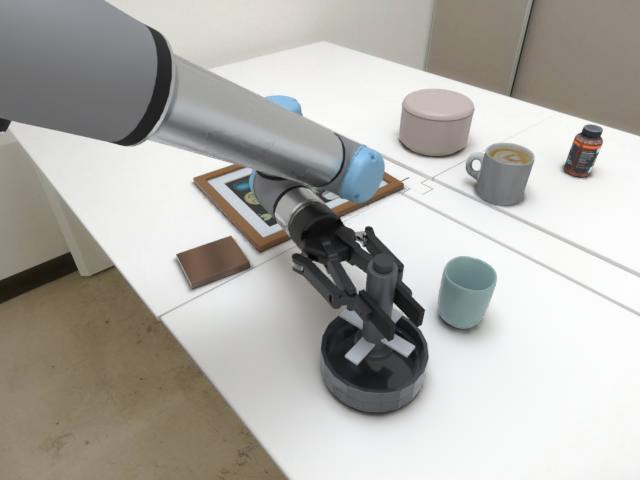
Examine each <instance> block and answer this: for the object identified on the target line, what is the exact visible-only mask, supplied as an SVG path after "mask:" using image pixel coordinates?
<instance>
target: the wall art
mask: <svg viewBox="0 0 640 480" xmlns="http://www.w3.org/2000/svg"><path fill="white" fill-rule="evenodd" d="M252 170H253V169H250V168H246V167H243V166H239V165H236V164H230V165H227V166H224V167H221V168H218V169H214V170H212V171H209V172H206V173H203V174H200V175H198V176H195V177H193V178H192V181H193V184H194V185H195V186H196V187H197V188H198V189H199V190H200V191H201V192H202V193H203V194H204V195H205V196H206V197H207V198H208V199H209V200H210V201H211V202H212V204H214V205H215V207H216V208H218V210H219V211H220V212H221V213H222V214H223V215H224V216H225V217H226V218H227V219H228V220H229V221H230V222H231V223H232V224H233V226H234V227H236V229H237V230H238V231H239V232H240V233H241V234H242V235H243V237H245V238H246V239H247V240H248V242H250V243H251V244H252V246H254V247H255V249H256V250H257V251H258V252H259V253H261V252H263V251H265V250H269V249H270V248H272V247H275V246H277V245H279V244H281V243H284V242H286V241H289V240H291V238H290V237H289V236H288V235H287V233H286V232H285V231H284V230H283V229H282V228H281V226H280V225H279V224H278V223H277V222H276V221H275V220H274V218H273V217H272V216H271V215H270V214H269V213H268V212H267V211H266V209H265V208H264V207H263V206H262V205H260V203H259V202H258V200H257V199H256V198H255V196H254V194H253V193H252V191H251V189H250V186H249V178H250V176H251V173H252ZM305 185H306V186H307V187H308V188H309V189H311V190H312V191H313V192H314V193H315V194H316V195H317V196H318V197H319V198H320V199H321V200H322V201H323V202H325V204H326V205H327V206H328V207H329V208H330V209H331V210H332V211H334V212H335V213H336V214H337V215H338V216H339V217H340V218H341V217H342V216H344V215H346V214H347V215H348V214H350V213H351V212H353V211H356V210H358V209H360V208H362V207H365V206H367V205H370V204H372V203H374V202H377V201H379V200H381V199H383V198H385V197H388V196H390V195H392V194H394V193H396V192H398V191H401V190H403V189H404V186H405V183H404V182H402V181H401V180H399V179H397V178H396V177H394V176H393V175H391V174H389V173H388V172H386V171H385V170H384V176H383V179H382V181H381V184H380V186H379V188H378V190H377V191H376V193H375V194H374V195H373V196H372V197H371V198H370V199H369V200H368V201H366V202H363V203H360V204H357V203H353V202H351V201H349V200H346V199H341V198H340V197H339V196H338V195H336V194H334V193H331V192H329V191H326V190H323V189H319V188H316V187H313V186H310V185H307V184H305Z"/></svg>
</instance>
